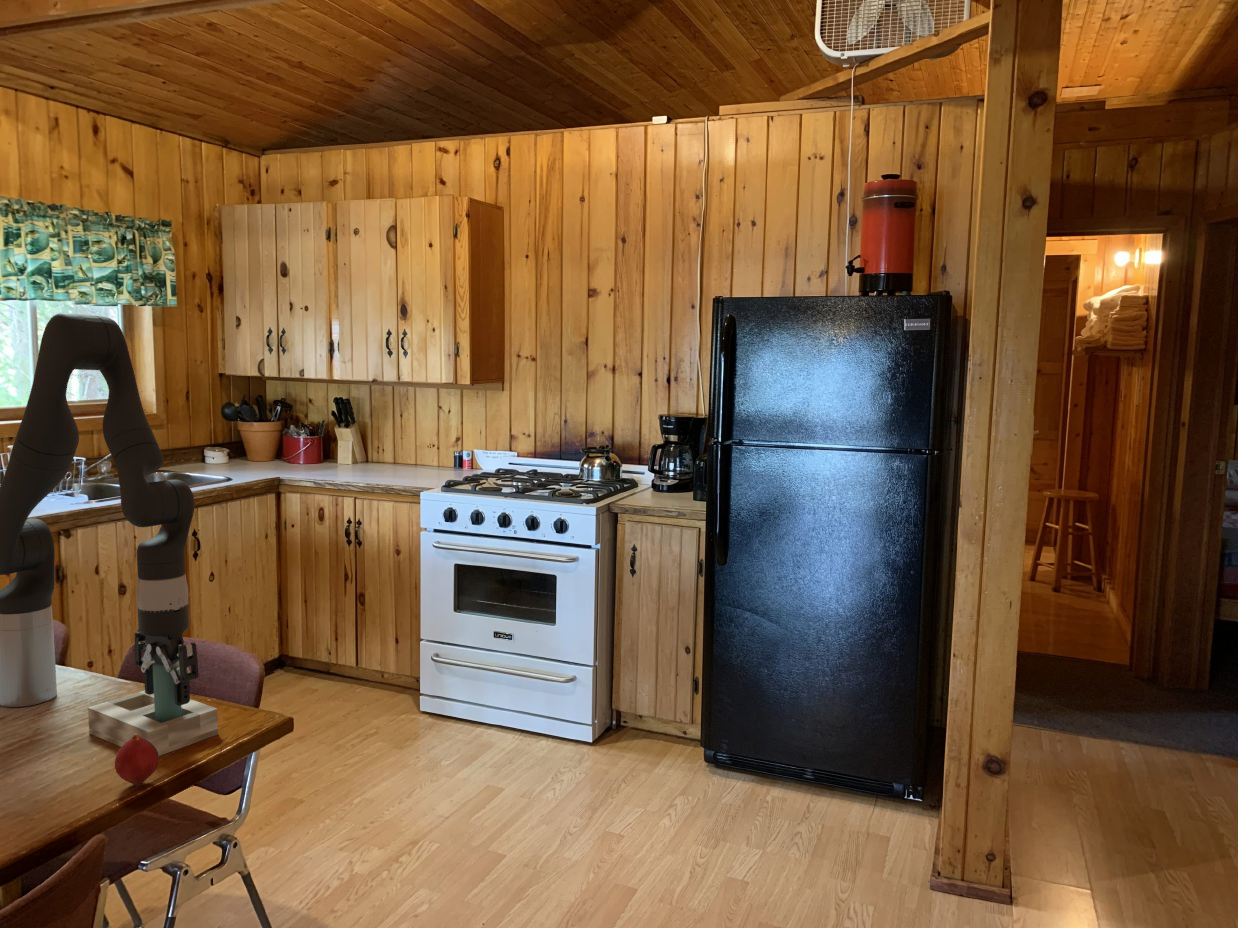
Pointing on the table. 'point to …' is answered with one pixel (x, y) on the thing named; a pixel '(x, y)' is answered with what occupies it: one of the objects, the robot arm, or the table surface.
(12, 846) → the table surface
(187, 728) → the hole board
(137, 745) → the onion
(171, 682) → the pin
